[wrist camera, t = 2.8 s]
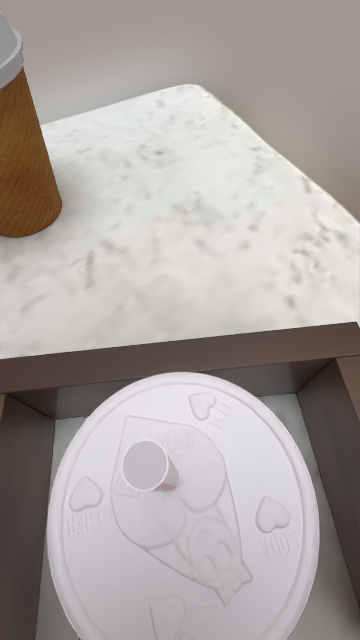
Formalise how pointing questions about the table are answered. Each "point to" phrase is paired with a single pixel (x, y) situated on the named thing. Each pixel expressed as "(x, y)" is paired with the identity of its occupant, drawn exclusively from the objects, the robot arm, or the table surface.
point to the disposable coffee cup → (22, 148)
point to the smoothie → (183, 517)
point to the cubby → (153, 359)
